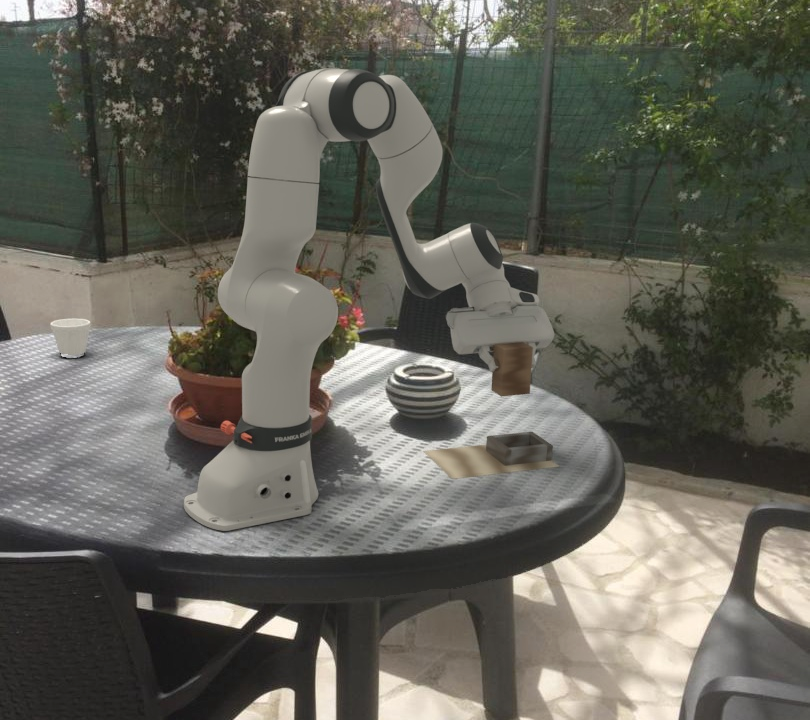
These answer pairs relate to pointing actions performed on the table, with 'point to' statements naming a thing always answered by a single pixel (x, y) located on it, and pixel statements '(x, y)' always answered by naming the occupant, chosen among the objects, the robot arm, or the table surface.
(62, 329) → the cup
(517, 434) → the floor panel
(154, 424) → the table surface
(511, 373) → the wooden block
